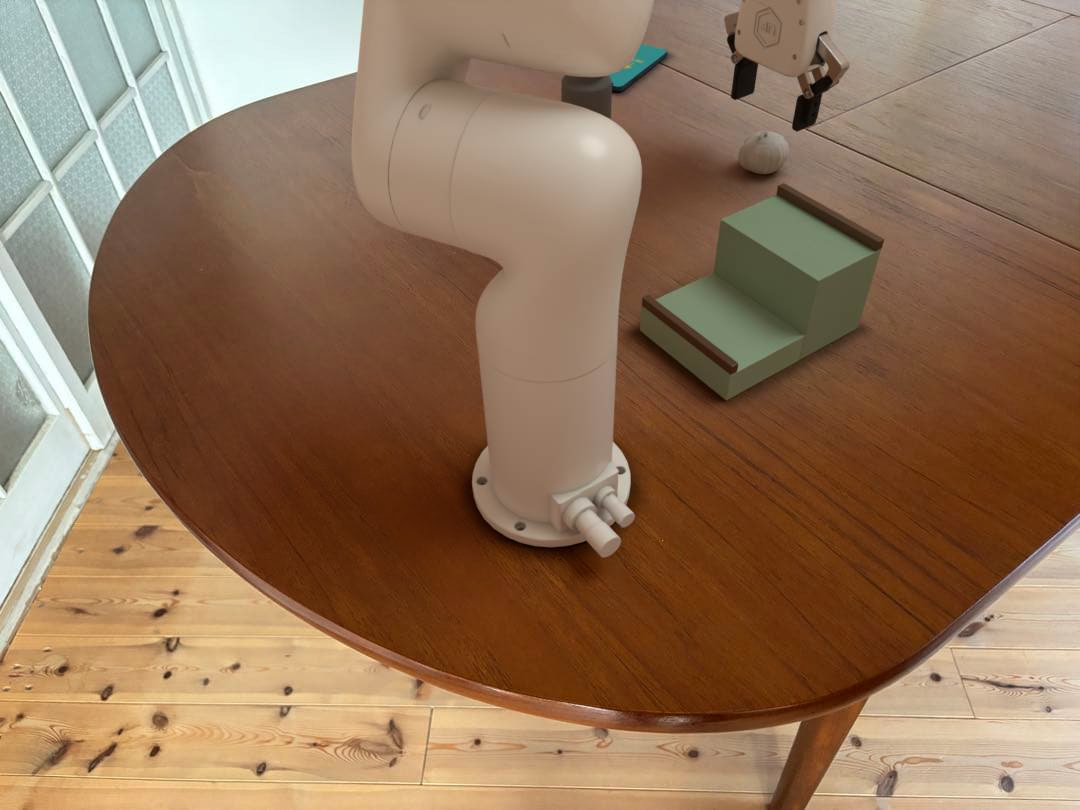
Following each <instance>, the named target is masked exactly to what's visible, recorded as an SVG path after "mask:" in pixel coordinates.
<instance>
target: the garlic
mask: <svg viewBox="0 0 1080 810" xmlns="http://www.w3.org/2000/svg"><path fill="white" fill-rule="evenodd" d="M789 155H790V147H789V143H788V142H787V141H786V140H785V136H783V135H782V134H780V133H777V132H775V131H771V130H770V131H769V130H765V129H764V130H758V131H755V132H753V133H752V134H751V135H750V136H747V138H746V139H745V140H744V142H743V144H742V145H741V147H740V148H739V151H738V162H739V164H740V165H741V167H742V168H743V169H744V170H746V171H749V172H751V173H754V174H758V175H770V174H772V173H774V172H776V171H779V170H782V168H783V166H784V164H785V163H786V162H787V160H788V158H789Z"/></svg>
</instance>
